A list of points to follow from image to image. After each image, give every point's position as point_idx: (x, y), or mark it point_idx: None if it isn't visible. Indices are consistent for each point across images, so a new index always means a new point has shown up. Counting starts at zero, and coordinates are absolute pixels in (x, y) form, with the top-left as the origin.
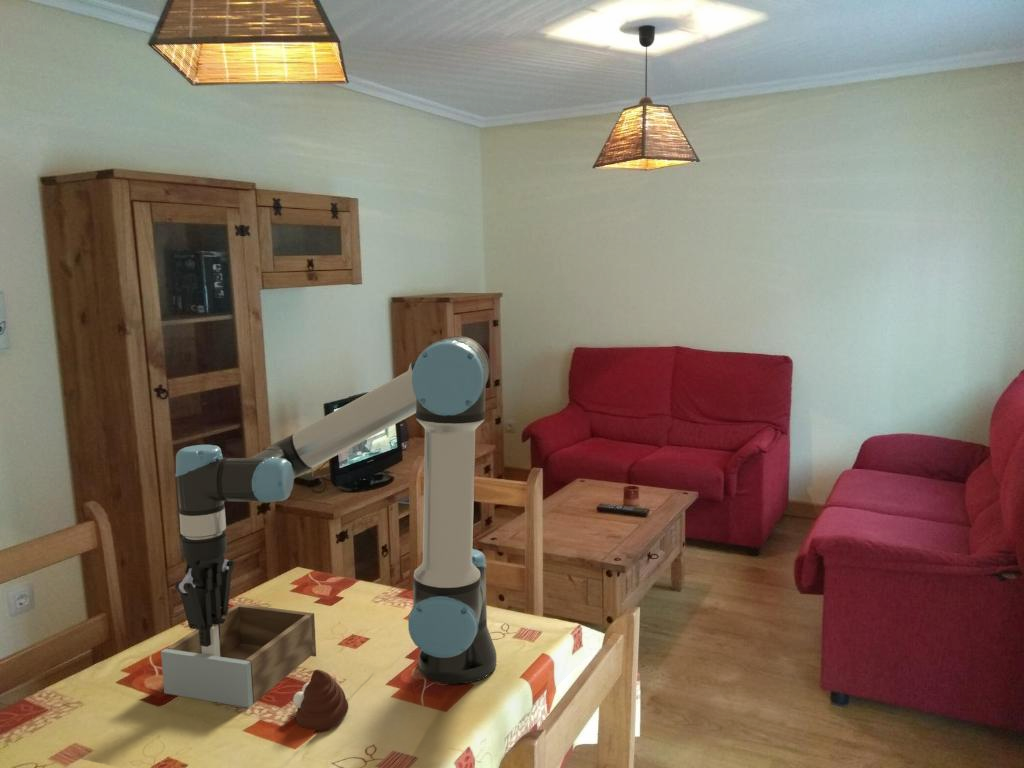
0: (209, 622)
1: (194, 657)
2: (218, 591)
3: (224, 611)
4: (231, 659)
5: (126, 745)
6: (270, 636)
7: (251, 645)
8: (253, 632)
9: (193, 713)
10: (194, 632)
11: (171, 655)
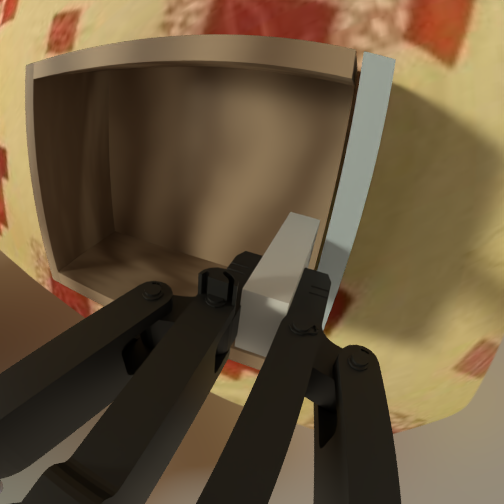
0: (297, 343)
1: (335, 295)
2: (102, 440)
3: (155, 301)
4: (356, 143)
5: (484, 298)
6: (90, 169)
7: (113, 207)
8: (92, 213)
9: (387, 217)
10: None
11: None
